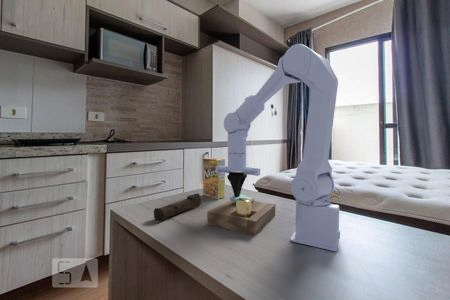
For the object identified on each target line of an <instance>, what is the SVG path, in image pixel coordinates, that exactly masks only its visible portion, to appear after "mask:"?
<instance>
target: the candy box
mask: <svg viewBox="0 0 450 300" xmlns="http://www.w3.org/2000/svg"><path fill="white" fill-rule="evenodd" d="M216 166H226V159H224V158H217V157H216V158H215V157H213V158H212V157H204V158H202V196H204V195H205V197H208V198H211V199H212V198H213V199H215V198H216V200H220V198H221V199H224V198H225V195H226V191H225V190H226V189H225V188H226V187H225V186H226V173H223V172H216ZM223 197H224V198H223Z"/></svg>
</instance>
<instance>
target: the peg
mask: <svg viewBox="0 0 450 300" xmlns="http://www.w3.org/2000/svg"><path fill="white" fill-rule="evenodd" d="M236 216H241V217H246V218H250V217H251V199H247V198H239V199H237V200H236Z"/></svg>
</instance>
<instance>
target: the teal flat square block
mask: <svg viewBox="0 0 450 300" xmlns="http://www.w3.org/2000/svg"><path fill="white" fill-rule="evenodd" d="M239 198H247V199H251V202H253V201H255V198H254V197H251V196H247V195H244V194H242V193H240V196H239V197H234V195H233V196H231V197H230V198H229V200H231V201H234V202H236V200H237V199H239Z"/></svg>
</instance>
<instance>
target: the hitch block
mask: <svg viewBox="0 0 450 300" xmlns="http://www.w3.org/2000/svg"><path fill="white" fill-rule="evenodd" d="M206 214H207V215H206V217H207V219H206V220H207V221H206V223H207V225H208V226H212V227H213V226H214V227H217V228H222V229H226V230H231V231H235V232H239V233H243V234H248V235H252V236H257V235H258V234H259V232H261V230H263V228H265V227H266V225H268V224H269V223H270V221H271V220H273V218H275V216H276V203H270V202H262V201H256V200H254V201H253V202H251V217H250V218H246V217H241V216H236V202H234V201H231V200H230V199H229V200H227V201H225V202H223V203H222V204H220V205H217V206H216V207H214V208H211V209H209V210H208V211H207V213H206Z"/></svg>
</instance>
